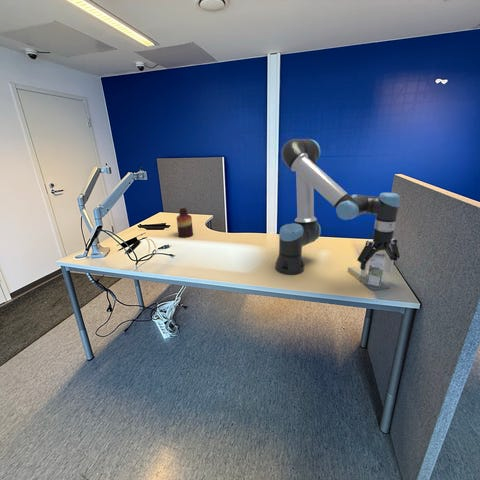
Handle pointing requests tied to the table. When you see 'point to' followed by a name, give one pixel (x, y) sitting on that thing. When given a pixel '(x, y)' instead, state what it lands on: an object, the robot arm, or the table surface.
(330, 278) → the table surface
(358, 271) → the board
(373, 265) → the syrup box
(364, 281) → the stub mat
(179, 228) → the brown cylindrical bottle
